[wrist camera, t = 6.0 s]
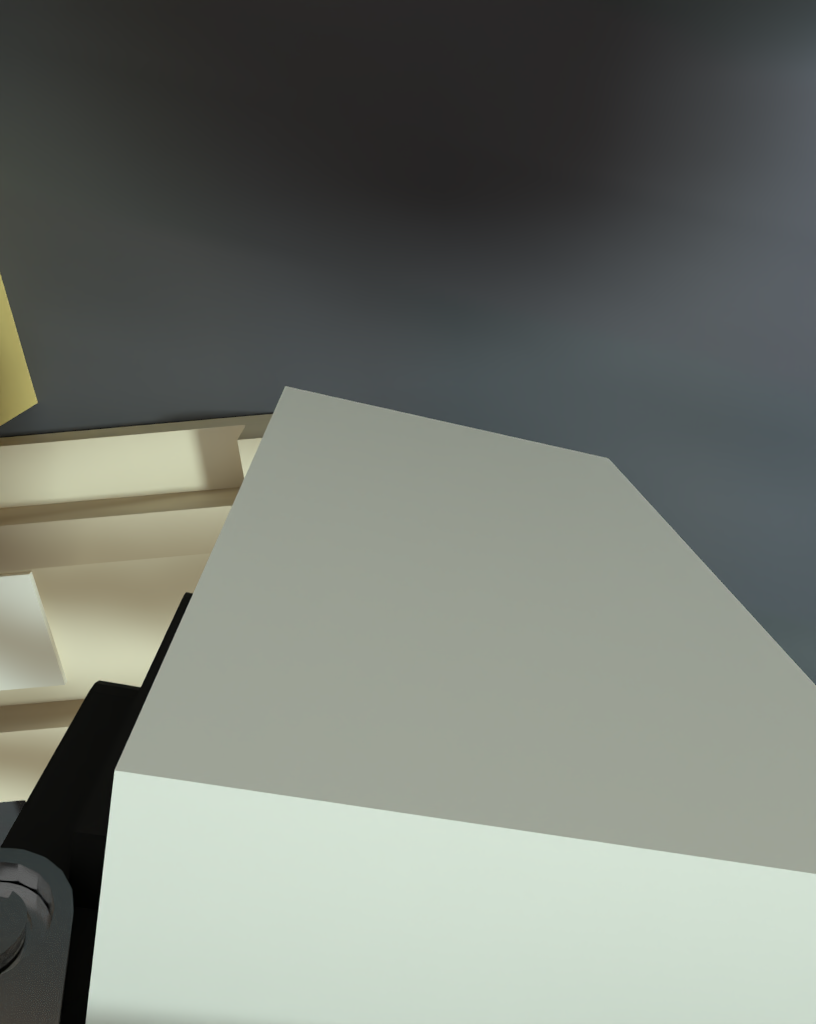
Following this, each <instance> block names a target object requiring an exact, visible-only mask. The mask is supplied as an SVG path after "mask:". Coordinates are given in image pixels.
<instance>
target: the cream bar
mask: <svg viewBox="0 0 816 1024" xmlns="http://www.w3.org/2000/svg"><path fill="white" fill-rule="evenodd" d="M85 1024H816V685H815V684H814V683H813V682H812V681H811V680H810V679H809V677H808V676H807V675H806V674H805V673H804V672H803V671H802V670H801V669H800V668H799V667H798V665H797V664H796V663H795V662H794V661H793V660H792V659H791V658H790V657H789V656H788V655H787V653H786V652H785V651H784V650H783V649H782V648H781V647H780V646H779V645H778V644H777V642H776V641H775V640H774V639H773V638H772V637H771V636H770V635H769V634H768V633H767V632H766V630H765V629H764V628H763V627H762V626H761V625H760V624H759V623H758V622H757V621H756V619H755V618H754V617H753V616H752V615H751V614H750V613H749V612H748V611H747V610H746V609H745V607H744V606H743V605H742V604H741V603H740V602H739V601H738V600H737V599H736V598H735V596H734V595H733V594H732V593H731V592H730V591H729V590H728V589H727V588H726V587H725V586H724V584H723V583H722V582H721V581H720V580H719V579H718V578H717V577H716V576H715V575H714V573H713V572H712V571H711V570H710V569H709V568H708V567H707V566H706V565H705V564H704V563H703V561H702V560H701V559H700V558H699V557H698V556H697V555H696V554H695V553H694V552H693V550H692V549H691V548H690V547H689V546H688V545H687V544H686V543H685V542H684V541H683V540H682V538H681V537H680V536H679V535H678V534H677V533H676V532H675V531H674V530H673V529H672V527H671V526H670V525H669V524H668V523H667V522H666V521H665V520H664V519H663V518H662V517H661V515H660V514H659V513H658V512H657V511H656V510H655V509H654V508H653V507H652V506H651V505H650V503H649V502H648V501H647V500H646V499H645V498H644V497H643V496H642V495H641V494H640V492H639V491H638V490H637V489H636V488H635V487H634V486H633V485H632V484H631V483H630V482H629V480H628V479H627V478H626V477H625V476H624V475H623V474H622V473H621V472H620V471H619V469H618V468H617V467H616V466H615V465H614V464H613V463H612V462H611V461H610V460H609V459H608V458H605V457H600V456H596V455H591V454H587V453H582V452H578V451H573V450H569V449H564V448H560V447H555V446H551V445H546V444H542V443H537V442H533V441H528V440H524V439H520V438H515V437H511V436H506V435H502V434H497V433H493V432H488V431H484V430H479V429H475V428H470V427H466V426H461V425H457V424H452V423H448V422H443V421H439V420H435V419H430V418H426V417H421V416H417V415H412V414H408V413H403V412H399V411H394V410H390V409H385V408H381V407H376V406H372V405H367V404H363V403H358V402H354V401H349V400H345V399H341V398H336V397H332V396H327V395H323V394H318V393H314V392H309V391H305V390H300V389H296V388H291V387H287V386H285V388H284V390H283V393H282V395H281V397H280V399H279V402H278V404H277V406H276V408H275V411H274V413H273V415H272V417H271V420H270V422H269V424H268V426H267V429H266V431H265V433H264V435H263V438H262V440H261V442H260V444H259V447H258V449H257V451H256V453H255V456H254V458H253V460H252V462H251V465H250V467H249V469H248V471H247V474H246V476H245V478H244V480H243V483H242V485H241V487H240V489H239V492H238V494H237V496H236V498H235V501H234V503H233V505H232V507H231V510H230V512H229V514H228V516H227V519H226V521H225V523H224V525H223V528H222V530H221V532H220V534H219V537H218V539H217V541H216V543H215V546H214V548H213V550H212V552H211V555H210V557H209V559H208V561H207V564H206V566H205V568H204V570H203V573H202V575H201V577H200V579H199V582H198V584H197V586H196V588H195V590H194V593H193V595H192V597H191V599H190V602H189V604H188V606H187V608H186V611H185V613H184V615H183V617H182V620H181V622H180V624H179V626H178V629H177V631H176V633H175V635H174V638H173V640H172V642H171V644H170V647H169V649H168V651H167V653H166V656H165V658H164V660H163V662H162V665H161V667H160V669H159V671H158V674H157V676H156V678H155V680H154V683H153V685H152V687H151V689H150V692H149V694H148V696H147V698H146V701H145V703H144V705H143V707H142V710H141V712H140V714H139V716H138V719H137V721H136V723H135V725H134V728H133V730H132V732H131V734H130V737H129V739H128V741H127V743H126V746H125V748H124V750H123V752H122V755H121V757H120V759H119V761H118V764H117V766H116V768H115V770H114V779H113V788H112V797H111V805H110V814H109V823H108V832H107V840H106V849H105V858H104V866H103V875H102V884H101V893H100V901H99V910H98V919H97V927H96V936H95V945H94V954H93V962H92V971H91V980H90V988H89V997H88V1006H87V1015H86V1023H85Z"/></svg>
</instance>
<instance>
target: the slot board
mask: <svg viewBox="0 0 816 1024" xmlns="http://www.w3.org/2000/svg"><path fill="white" fill-rule="evenodd" d="M272 415H273V414H264V415H253V416H242V417H230V418H219V419H208V420H196V421H185V422H174V423H162V424H151V425H140V426H128V427H117V428H106V429H95V430H83V431H72V432H61V433H49V434H38V435H27V436H15V437H4V438H0V802H8V801H19V800H25V801H27V800H28V798H29V796H30V794H31V793H32V791H33V789H34V787H35V785H36V784H37V782H38V780H39V778H40V777H41V775H42V773H43V771H44V770H45V768H46V766H47V764H48V763H49V761H50V759H51V757H52V756H53V754H54V752H55V750H56V748H57V747H58V745H59V743H60V741H61V740H62V738H63V736H64V734H65V733H66V731H67V729H68V727H69V726H70V724H71V722H72V720H73V719H74V717H75V715H76V713H77V712H78V710H79V708H80V706H81V704H82V703H83V701H84V699H85V697H86V696H87V694H88V692H89V690H90V689H91V688H92V686H93V685H94V683H95V682H97V681H99V680H101V681H107V682H113V683H119V684H125V685H131V686H137V687H141V686H142V683H143V681H144V679H145V677H146V675H147V673H148V671H149V668H150V666H151V664H152V662H153V660H154V658H155V656H156V653H157V651H158V649H159V647H160V645H161V643H162V641H163V638H164V636H165V634H166V632H167V630H168V628H169V626H170V623H171V621H172V619H173V617H174V615H175V613H176V611H177V608H178V606H179V604H180V602H181V600H182V598H183V596H184V594H185V593H186V592H189V593H194V590H195V588H196V586H197V584H198V582H199V579H200V577H201V575H202V573H203V570H204V568H205V566H206V564H207V561H208V559H209V557H210V555H211V552H212V550H213V548H214V546H215V543H216V541H217V539H218V537H219V534H220V532H221V530H222V528H223V525H224V523H225V521H226V519H227V516H228V514H229V512H230V510H231V507H232V505H233V503H234V501H235V498H236V496H237V494H238V492H239V489H240V487H241V485H242V483H243V480H244V478H245V476H246V474H247V471H248V469H249V467H250V465H251V462H252V460H253V458H254V456H255V453H256V451H257V449H258V447H259V444H260V442H261V440H262V438H263V435H264V433H265V431H266V429H267V426H268V424H269V422H270V420H271V417H272Z"/></svg>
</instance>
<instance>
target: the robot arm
mask: <svg viewBox="0 0 816 1024" xmlns="http://www.w3.org/2000/svg"><path fill="white" fill-rule="evenodd" d="M192 595H193V593H189V592H186V593H185V594H184V596H183V598H182V600H181V602H180V604H179V606H178V608H177V611H176V613H175V615H174V617H173V619H172V621H171V623H170V626H169V628H168V630H167V632H166V634H165V636H164V638H163V641H162V643H161V645H160V647H159V649H158V651H157V653H156V656H155V658H154V660H153V662H152V664H151V666H150V668H149V671H148V673H147V675H146V677H145V679H144V681H143V683H142V686H141V687H137V686H131V685H125V684H119V683H113V682H107V681H101V680H99V681H97V682H95V683H94V685H93V686H92V688H91V689H90V690H89V692H88V694H87V696H86V697H85V699H84V701H83V703H82V704H81V706H80V708H79V710H78V712H77V713H76V715H75V717H74V719H73V720H72V722H71V724H70V726H69V727H68V729H67V731H66V733H65V734H64V736H63V738H62V740H61V741H60V743H59V745H58V747H57V748H56V750H55V752H54V754H53V756H52V757H51V759H50V761H49V763H48V764H47V766H46V768H45V770H44V771H43V773H42V775H41V777H40V778H39V780H38V782H37V784H36V785H35V787H34V789H33V791H32V793H31V794H30V796H29V798H28V800H27V801H26V803H25V805H24V807H23V808H22V810H21V812H20V814H19V815H18V817H17V819H16V821H15V822H14V824H13V826H12V828H11V830H10V831H9V833H8V835H7V837H6V838H5V840H4V842H3V844H2V845H1V847H0V1024H85V1023H86V1015H87V1006H88V997H89V988H90V980H91V971H92V962H93V954H94V945H95V936H96V927H97V919H98V910H99V901H100V893H101V884H102V875H103V866H104V858H105V849H106V840H107V832H108V823H109V814H110V805H111V797H112V788H113V779H114V770H115V768H116V766H117V764H118V761H119V759H120V757H121V755H122V752H123V750H124V748H125V746H126V743H127V741H128V739H129V737H130V734H131V732H132V730H133V728H134V725H135V723H136V721H137V719H138V716H139V714H140V712H141V710H142V707H143V705H144V703H145V701H146V698H147V696H148V694H149V692H150V689H151V687H152V685H153V683H154V680H155V678H156V676H157V674H158V671H159V669H160V667H161V665H162V662H163V660H164V658H165V656H166V653H167V651H168V649H169V647H170V644H171V642H172V640H173V638H174V635H175V633H176V631H177V629H178V626H179V624H180V622H181V620H182V617H183V615H184V613H185V611H186V608H187V606H188V604H189V602H190V599H191V597H192Z"/></svg>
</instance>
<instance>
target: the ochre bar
mask: <svg viewBox="0 0 816 1024" xmlns="http://www.w3.org/2000/svg"><path fill="white" fill-rule="evenodd" d="M37 403H38V402H37V399H36V395H35V392H34V388H33V385H32V381H31V378H30V375H29V371H28V368H27V364H26V361H25V357H24V354H23V350H22V347H21V344H20V340H19V337H18V333H17V330H16V326H15V323H14V319H13V316H12V313H11V309H10V306H9V302H8V299H7V295H6V292H5V288H4V285H3V282H2V278H1V275H0V426H1V425H3V424H4V423H6V422H7V421H9V420H11V419H12V418H14V417H16V416H17V415H19V414H20V413H22V412H24V411H25V410H27V409H28V408H30V407H32V406H33V405H35V404H37Z"/></svg>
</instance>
